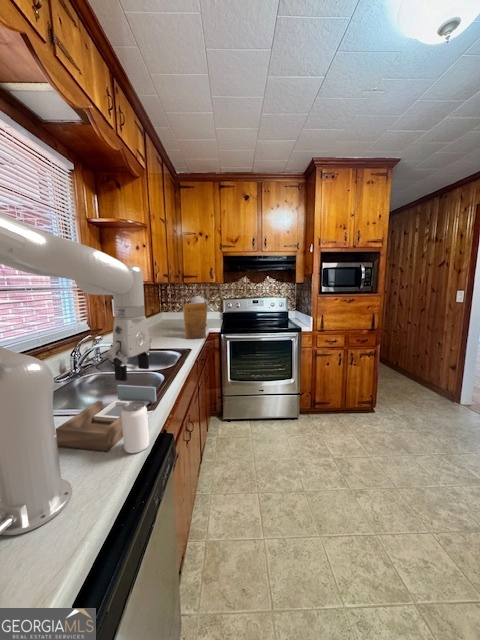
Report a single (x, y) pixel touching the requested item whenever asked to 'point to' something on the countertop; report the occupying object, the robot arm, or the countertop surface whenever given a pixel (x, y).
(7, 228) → the robot arm
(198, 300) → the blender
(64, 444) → the wooden coaster holder
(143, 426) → the can
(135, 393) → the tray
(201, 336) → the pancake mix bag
